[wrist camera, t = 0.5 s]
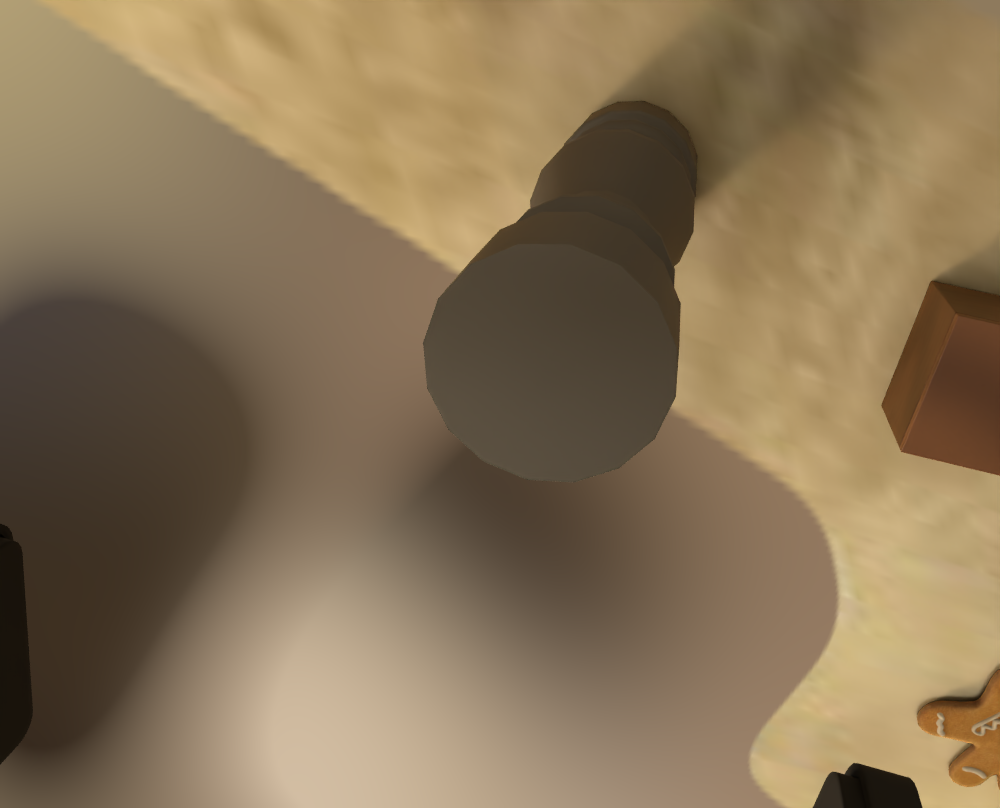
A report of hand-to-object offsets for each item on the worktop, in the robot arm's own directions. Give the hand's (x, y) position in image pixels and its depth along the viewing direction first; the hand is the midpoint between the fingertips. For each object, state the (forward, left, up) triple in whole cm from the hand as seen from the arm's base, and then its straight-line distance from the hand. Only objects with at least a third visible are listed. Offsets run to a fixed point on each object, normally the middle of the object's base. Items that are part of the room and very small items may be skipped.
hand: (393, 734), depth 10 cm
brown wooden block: (+5, +19, -36) cm, 41 cm away
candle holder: (0, 0, -36) cm, 36 cm away
